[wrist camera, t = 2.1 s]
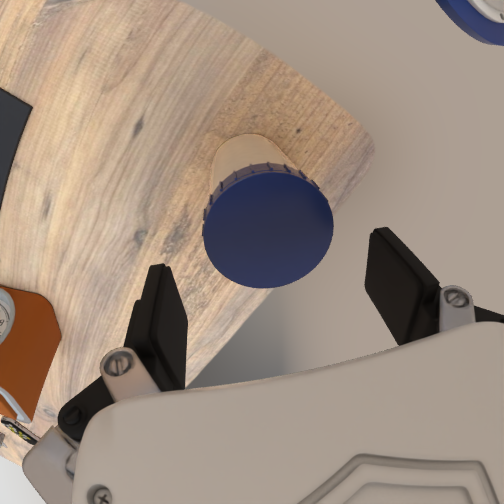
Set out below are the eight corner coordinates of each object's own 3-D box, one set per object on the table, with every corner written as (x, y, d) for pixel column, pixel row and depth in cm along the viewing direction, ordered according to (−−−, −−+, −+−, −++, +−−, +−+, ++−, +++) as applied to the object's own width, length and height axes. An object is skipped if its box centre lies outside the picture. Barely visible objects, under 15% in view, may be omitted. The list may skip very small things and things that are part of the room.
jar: (241, 118, 21) (259, 146, 12) (300, 163, 23) (351, 220, 15) (195, 178, 23) (182, 246, 14) (254, 217, 26) (275, 298, 17)
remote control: (32, 439, 52) (31, 445, 51) (0, 415, 46) (-2, 421, 44) (45, 441, 52) (43, 447, 50) (11, 417, 45) (9, 423, 44)
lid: (255, 135, 13) (260, 141, 12) (347, 209, 16) (359, 222, 14) (179, 235, 15) (176, 251, 14) (272, 288, 18) (277, 306, 17)
